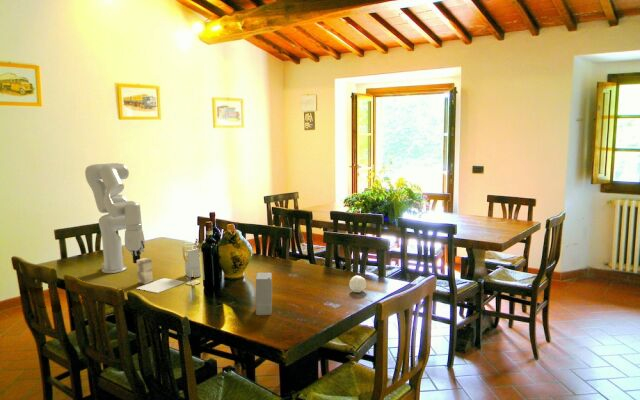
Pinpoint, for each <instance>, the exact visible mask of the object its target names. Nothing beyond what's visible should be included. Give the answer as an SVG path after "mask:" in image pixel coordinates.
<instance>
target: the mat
mask: <svg viewBox="0 0 640 400" xmlns="http://www.w3.org/2000/svg"><path fill="white" fill-rule="evenodd" d="M185 283H186V281H182V280H177V279H173V278H172V279H171V278H166V277H163V278H160V279H158V280H155V281H154V280H153V282H151V283H149V284H146V285H144V284H142V286H138V287H136V288H135V289H136V290H139V289H140V290H139V291H144V290H145V291H144V292H148V293H149V292H150V293H155V294H160V293H162V292H164V291H167V290H169V289H172V288H175V287H176V286H177V287H178V286H179V285H182V284H185Z"/></svg>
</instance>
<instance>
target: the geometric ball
mask: <svg viewBox="0 0 640 400" xmlns="http://www.w3.org/2000/svg"><path fill="white" fill-rule="evenodd" d="M348 286H349V288H350V290H351V291H353V292H354V293H359V294H360V293H361V292H363V291H364V290H365V289H366V288H367V281H366V279H365V278H364V277H363V276H361V275H354V276H352V277H351V279H350V280H349V285H348Z"/></svg>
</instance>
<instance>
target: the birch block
mask: <svg viewBox="0 0 640 400" xmlns="http://www.w3.org/2000/svg"><path fill="white" fill-rule="evenodd" d="M136 262H137V263H136V271H137V281H138V282H137V284H138V285H146V284H149V283H152V282H154V277H153V267H152V266H153V263H152V258H147V257H142V258H140V259H139V260H136Z"/></svg>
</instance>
